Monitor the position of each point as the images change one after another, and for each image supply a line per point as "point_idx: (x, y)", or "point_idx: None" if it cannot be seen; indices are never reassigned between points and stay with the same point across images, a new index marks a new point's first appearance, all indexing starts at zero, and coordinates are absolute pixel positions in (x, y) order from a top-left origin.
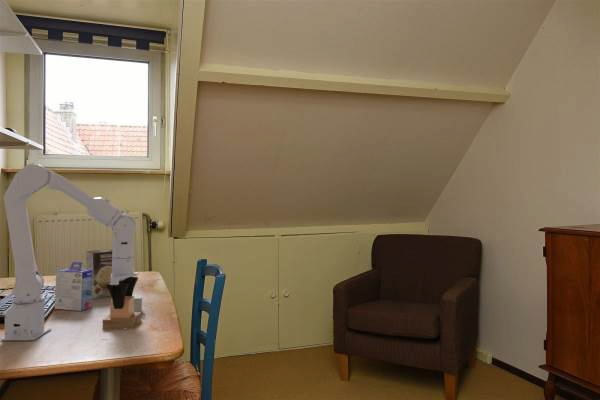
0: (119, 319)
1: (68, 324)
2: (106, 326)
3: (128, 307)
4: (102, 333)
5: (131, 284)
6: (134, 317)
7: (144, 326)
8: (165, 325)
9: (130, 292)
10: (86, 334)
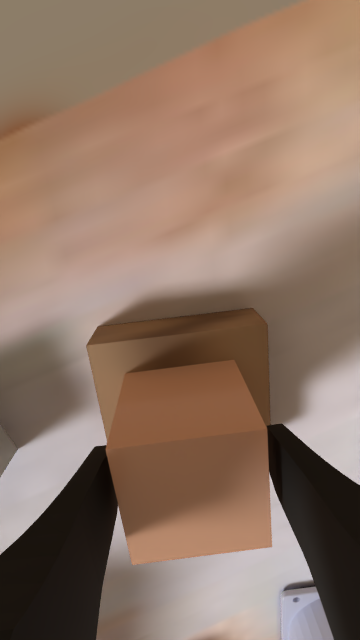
0: (261, 396)
1: (203, 575)
2: None
3: (251, 396)
4: (325, 408)
5: (59, 592)
6: (212, 335)
7: (199, 264)
8: (164, 140)
9: (86, 510)
10: (337, 459)
